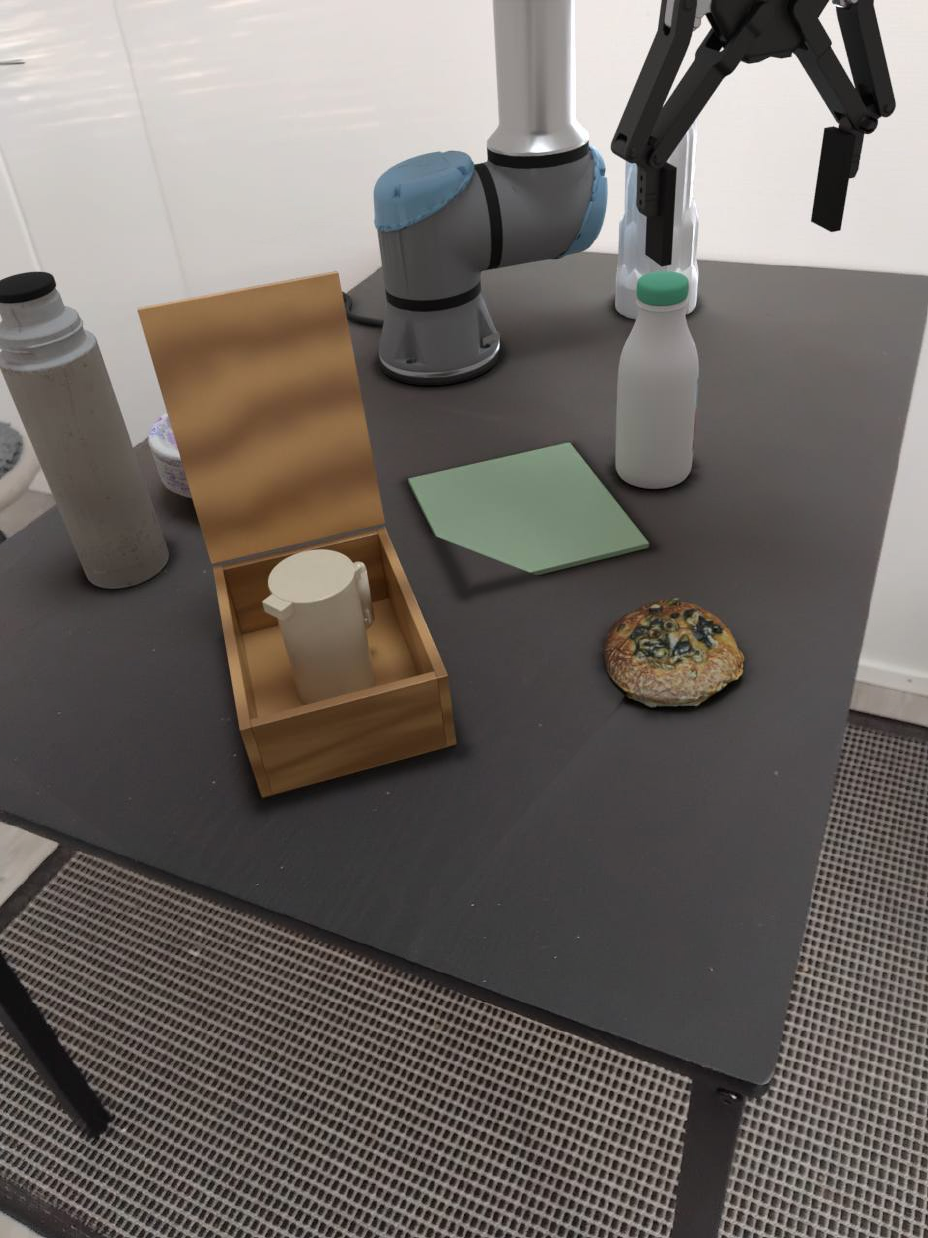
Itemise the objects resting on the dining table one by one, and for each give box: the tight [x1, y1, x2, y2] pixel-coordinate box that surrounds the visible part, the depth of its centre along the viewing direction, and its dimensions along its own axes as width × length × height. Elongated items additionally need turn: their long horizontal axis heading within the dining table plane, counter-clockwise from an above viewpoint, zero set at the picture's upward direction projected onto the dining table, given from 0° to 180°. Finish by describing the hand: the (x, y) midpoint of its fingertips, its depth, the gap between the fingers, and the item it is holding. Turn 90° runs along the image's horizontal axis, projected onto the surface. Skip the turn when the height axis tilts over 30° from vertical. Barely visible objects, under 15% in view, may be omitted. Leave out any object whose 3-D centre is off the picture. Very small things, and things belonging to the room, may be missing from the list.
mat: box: [407, 441, 650, 576], centre depth 96 cm, size 20×18×1 cm
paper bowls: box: [147, 411, 192, 499], centre depth 102 cm, size 15×15×8 cm
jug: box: [262, 549, 375, 705], centre depth 75 cm, size 9×6×11 cm
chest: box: [212, 526, 457, 799], centre depth 77 cm, size 20×15×8 cm
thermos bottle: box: [0, 271, 170, 590], centre depth 86 cm, size 8×8×28 cm
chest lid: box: [137, 270, 386, 565], centre depth 78 cm, size 20×15×5 cm
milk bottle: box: [614, 271, 700, 490], centre depth 94 cm, size 8×8×20 cm
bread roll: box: [603, 597, 746, 708], centre depth 77 cm, size 11×11×5 cm
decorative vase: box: [614, 100, 699, 320], centre depth 124 cm, size 11×11×25 cm
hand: (743, 243), depth 72 cm, fingers open, 13 cm apart
